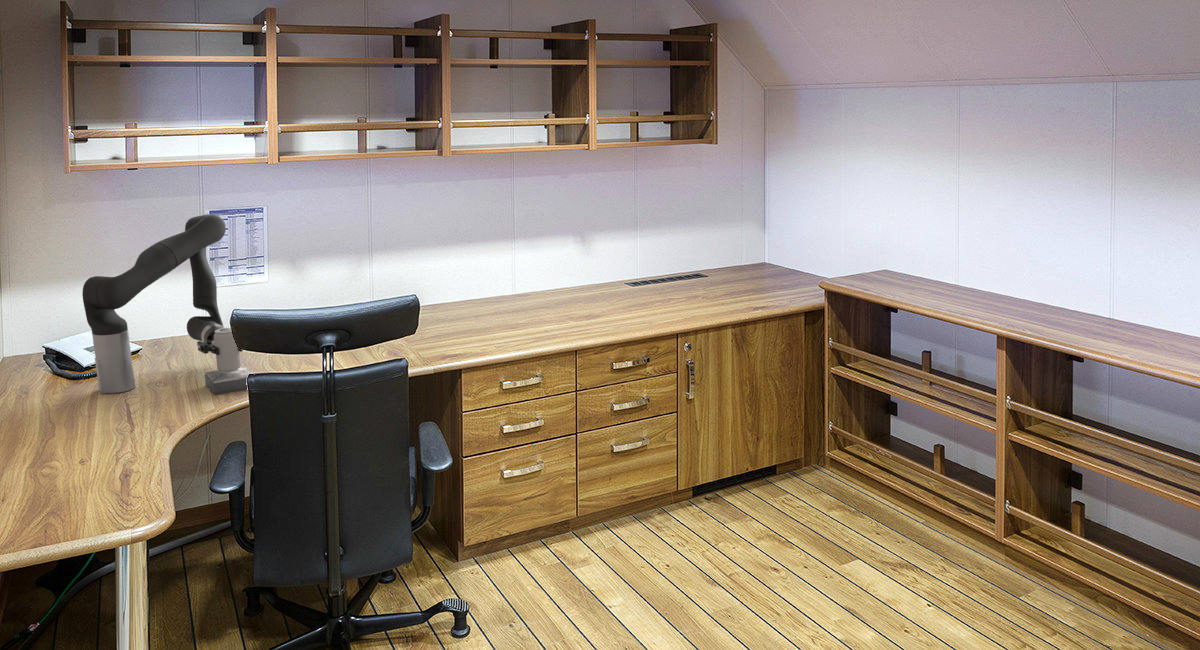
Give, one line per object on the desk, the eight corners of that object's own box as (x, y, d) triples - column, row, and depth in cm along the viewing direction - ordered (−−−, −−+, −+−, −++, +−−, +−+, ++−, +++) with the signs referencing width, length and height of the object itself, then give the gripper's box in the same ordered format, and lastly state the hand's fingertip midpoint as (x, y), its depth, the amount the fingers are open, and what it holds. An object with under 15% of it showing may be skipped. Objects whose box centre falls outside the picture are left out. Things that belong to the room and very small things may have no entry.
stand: (214, 395, 269) (212, 381, 269) (205, 385, 279) (204, 372, 278) (257, 388, 276) (256, 374, 275) (247, 378, 286) (246, 365, 285)
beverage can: (233, 365, 281) (229, 326, 278) (245, 369, 277) (241, 329, 274) (213, 370, 276) (208, 330, 273) (225, 374, 272) (220, 333, 269)
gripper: (189, 329, 282) (201, 340, 268) (240, 322, 290) (254, 333, 276) (192, 353, 284) (204, 366, 270) (242, 346, 291) (256, 358, 278)
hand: (229, 349), depth 273 cm, fingers closed on beverage can, 6 cm apart
